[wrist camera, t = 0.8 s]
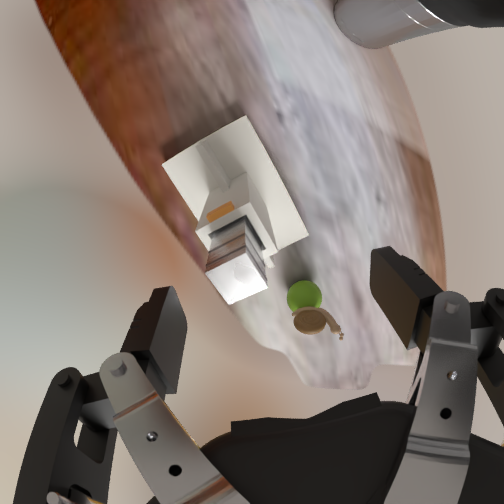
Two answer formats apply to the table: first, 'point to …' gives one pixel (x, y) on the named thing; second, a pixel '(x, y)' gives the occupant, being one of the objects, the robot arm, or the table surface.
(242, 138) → the grey stand
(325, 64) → the table surface
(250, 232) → the steel bar
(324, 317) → the snail figurine
